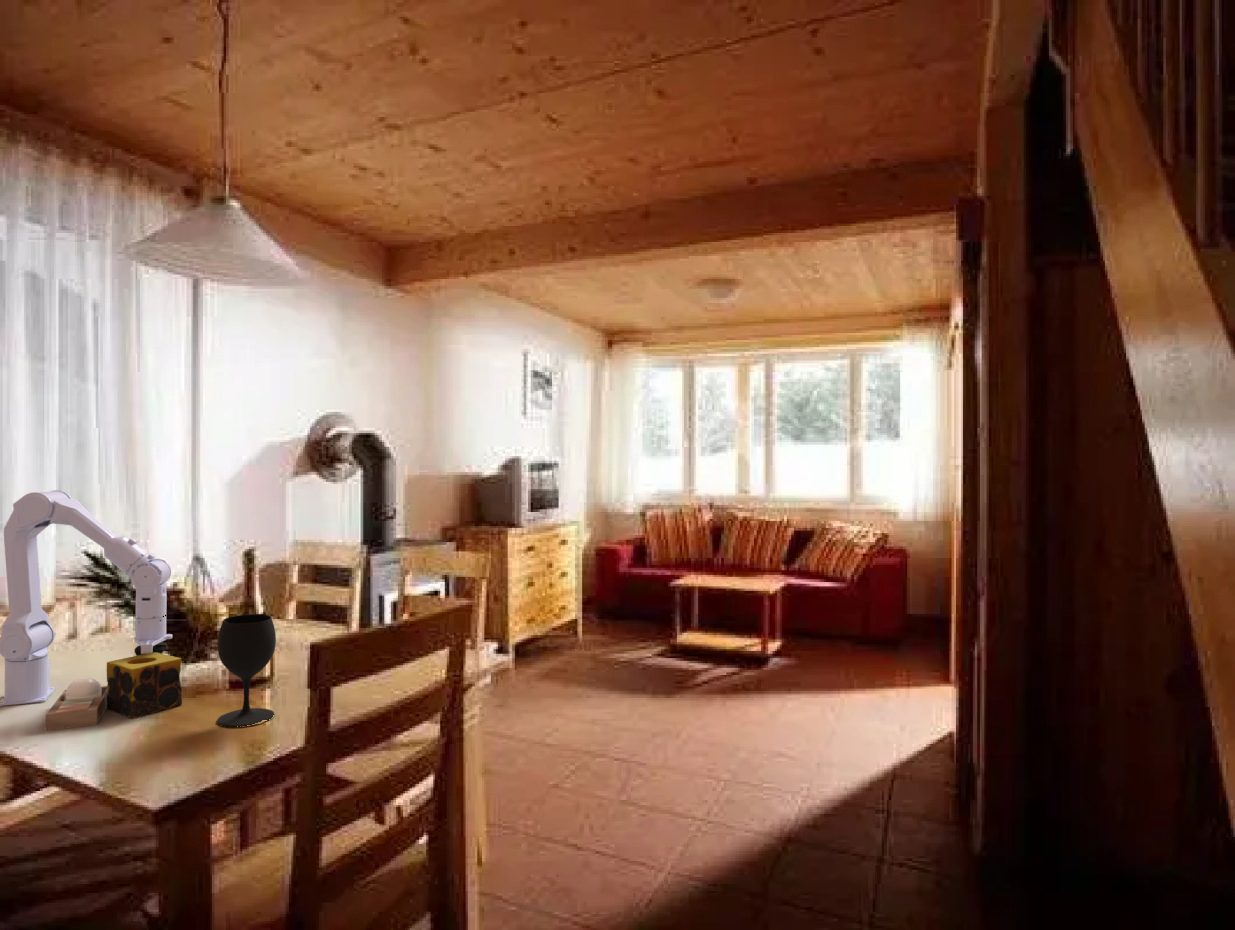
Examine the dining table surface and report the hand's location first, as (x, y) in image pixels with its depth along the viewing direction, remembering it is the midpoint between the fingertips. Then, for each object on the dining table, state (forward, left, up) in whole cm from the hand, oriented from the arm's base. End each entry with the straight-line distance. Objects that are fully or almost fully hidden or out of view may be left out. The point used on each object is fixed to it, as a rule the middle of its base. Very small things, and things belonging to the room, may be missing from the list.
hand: (150, 678), depth 164 cm
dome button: (+6, -11, -3) cm, 13 cm away
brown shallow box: (+9, -11, -3) cm, 15 cm away
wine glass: (+24, +19, -4) cm, 31 cm away
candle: (+9, 0, -4) cm, 10 cm away
